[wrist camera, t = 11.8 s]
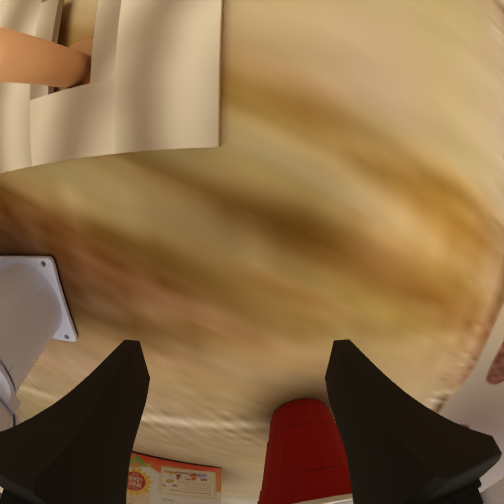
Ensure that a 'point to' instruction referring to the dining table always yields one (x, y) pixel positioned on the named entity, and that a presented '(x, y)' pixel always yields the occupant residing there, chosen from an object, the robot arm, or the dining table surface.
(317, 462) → the plastic cup
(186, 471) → the cracker box
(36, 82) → the keyhole peg
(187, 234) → the dining table surface
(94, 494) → the robot arm
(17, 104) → the keyhole board
